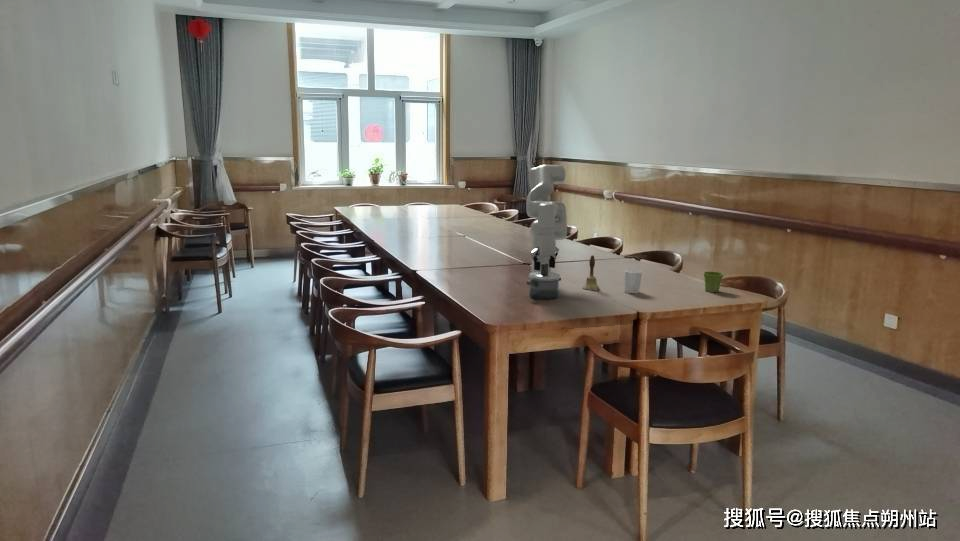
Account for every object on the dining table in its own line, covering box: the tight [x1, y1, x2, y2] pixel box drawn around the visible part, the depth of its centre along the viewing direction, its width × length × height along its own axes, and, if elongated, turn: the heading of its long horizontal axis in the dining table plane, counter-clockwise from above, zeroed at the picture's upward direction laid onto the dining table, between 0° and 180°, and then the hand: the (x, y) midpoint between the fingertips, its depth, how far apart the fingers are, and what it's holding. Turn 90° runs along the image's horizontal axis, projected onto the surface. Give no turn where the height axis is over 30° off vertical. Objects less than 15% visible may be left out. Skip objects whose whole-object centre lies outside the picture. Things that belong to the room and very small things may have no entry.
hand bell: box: [582, 255, 601, 291], centre depth 308 cm, size 8×8×16 cm
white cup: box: [623, 269, 643, 294], centre depth 302 cm, size 8×8×10 cm
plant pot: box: [702, 271, 725, 293], centre depth 306 cm, size 9×9×9 cm
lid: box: [528, 263, 561, 280], centre depth 290 cm, size 14×14×6 cm
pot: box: [526, 277, 562, 301], centre depth 292 cm, size 18×13×9 cm
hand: (544, 268), depth 290 cm, fingers open, 9 cm apart
